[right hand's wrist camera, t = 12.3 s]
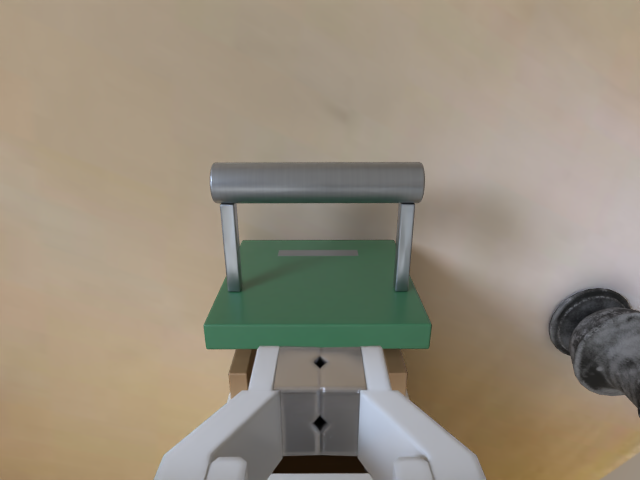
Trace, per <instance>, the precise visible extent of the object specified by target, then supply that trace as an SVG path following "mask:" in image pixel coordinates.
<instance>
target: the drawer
mask: <svg viewBox="0 0 640 480" xmlns="http://www.w3.org/2000/svg"><path fill="white" fill-rule="evenodd" d="M424 188H425V173H424V168H423V165H422V163H420V162H311V163H214V164H213V165H212V167H211V172H210V190H211V195H212V198H213V201H214V202H215V203H221V204H220V210H221V221H222V232H223V243H224V254H225V265H226V278H225V280H224V282H223V284H222V286H221V288H220V291H219V293H218V295H217V297H216V299H215V301H214V304H213V306H212V308H211V310H210V312H209V314H208V317H207V319H206V321H205V323H204V334H205V342H206V348H207V349H236V351H235V354H234V357H233V360H232V364H231V367H230V370H229V374H228V375H229V385H230V395H231V399H232V398H233V397H235V396H236V395H237V394H238V393H239V392H241V391H242V390H248V388H249V383H250V379H251V375H252V370H253V366H254V362H255V357H256V353H257V349H258V348H259V346H279V347H280V346H305V347H360V346H381V347H382V349H383V353H384V358H385V362H386V366H387V371H388V375H389V379H390V384H391V388H392V390H398V391H399V392H401V393H402V394H403V395H404V396H405V395H406V384H407V370H406V367H405V363H404V360H403V357H402V353H401V350H400V349H428V348H429V346H430V337H431V328H432V324H431V322H430V320H429V317H428V315H427V313H426V311H425V309H424V306H423V304H422V302H421V300H420V297H419V295H418V293H417V291H416V288H415V286H414V284H413V282H412V279H411V277H410V275H409V272H410V260H411V248H412V236H413V224H414V212H415V204H414V203H419V202H421V200H422V198H423V194H424ZM236 203H399V207H398V222H397V236H396V244H395V241H394V240H243V241H242V243H241V245H240V244H239V231H238V218H237V205H236ZM272 473H368V472H367V470H366V469H365V468H364V466H363V465H362V463H361V462H360V461H359V459H358V456H338V455H301V456H282V460H281V461H280V462H279V464H278V465H277V467H276V468H275V469H274V471H273V472H272Z"/></svg>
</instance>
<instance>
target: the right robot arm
mask: <svg viewBox="0 0 640 480" xmlns="http://www.w3.org/2000/svg"><path fill="white" fill-rule="evenodd" d="M301 455H338V456H358V459H359V461H360V462H361V463H362V465H363V466H364V468H365V469H366V470H367V472H368V473H369V474H370V476H371V477H372V479H373V480H486V477H485V475H484V472H483V470H482V467H481V465H480V463H479V460H478V458H477V455H475V454H474V453H473V452H472V451H471V450H469V449H468V448H467V447H466V446H465V445H463V444H462V443H461V442H460V441H458V440H457V439H456V438H455V437H454V436H452V435H451V434H450V433H449V432H448V431H446V430H445V429H444V428H443V427H442V426H440V425H439V424H438V423H437V422H436V421H434V420H433V419H432V418H431V417H430V416H428V415H427V414H426V413H425V412H424V411H422V410H421V409H420V408H419V407H418V406H416V405H415V404H414V403H413V402H411V401H410V400H409V399H408V398H407V397H405V396H404V395H403V394H402V393H401V392H399V391H398V390H392V388H391V384H390V379H389V375H388V371H387V366H386V362H385V358H384V353H383V349H382V347H381V346H360V347H305V346H280V347H279V346H259V348H258V349H257V353H256V357H255V362H254V366H253V370H252V375H251V379H250V383H249V388H248V390H242V391H241V392H239V393H238V394H237V395H236V396H235V397H233V398H232V399H231V400H230V401H228V402H227V403H226V404H225V405H224V406H222V407H221V408H220V409H219V410H218V411H216V412H215V413H214V414H213V415H212V416H210V417H209V418H208V419H207V420H205V421H204V422H203V423H202V424H201V425H199V426H198V427H197V428H196V429H195V430H193V431H192V432H191V433H190V434H189V435H187V436H186V437H185V438H184V439H182V440H181V441H180V442H179V443H178V444H176V445H175V446H174V447H173V448H172V449H170V450H169V451H168V452H167V453H166V454H164V456H163V458H162V461H161V463H160V465H159V468H158V470H157V473H156V475H155V477H154V480H267V479H268V478H269V476H270V475H271V473H272V472H273V471H274V469H275V468H276V467H277V465H278V464H279V462H280V461H281V460H282V456H301Z"/></svg>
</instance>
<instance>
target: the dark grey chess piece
mask: <svg viewBox="0 0 640 480" xmlns="http://www.w3.org/2000/svg"><path fill="white" fill-rule="evenodd" d="M549 334H550V338H551V341H552V342H553V344H554V345H555V347H556V348H557V349H559V350H560V351H561V352H563V353H565V354H567V355H570V356H571V360H572V364H573V368H574V373H575V376H576V377H577V379H578V380H579V382H580V383H581V384H582V385H583V386H584V387H585V388H587V389H588V390H589V391H592V392H595V393H597V394H600V395H608V396H617V395H626V396H627V397H628V398H629V400H630V401H631V402H632V403H633V404H634V405H635V406H636V407H637V408H638V415H639V417H640V312H639V311H636V310H631V309H630V306H629V304H628V303H627V301H626V300H625V299H624V298H623V297H622V296H621V295H620V294H618V293H616V292H614V291H612V290H609V289H601V288H597V289H588V290H585V291H582V292H579V293H576V294H575V295H573V296H571V297H569V298H568V299H567V300H565V301H564V302H563V303H562V304H561V305H560V306H559V307H558V308H557V310H556V311H555V313H554V314H553V316H552V319H551V321H550V327H549Z"/></svg>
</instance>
